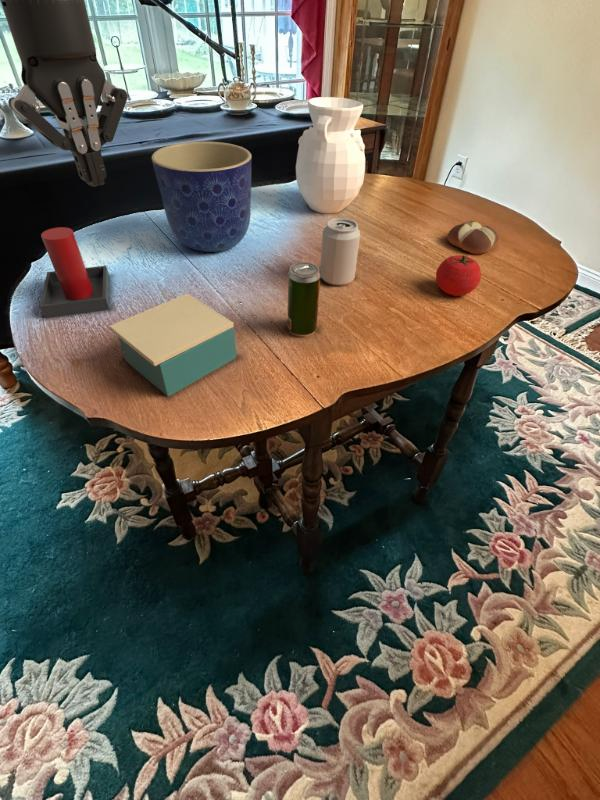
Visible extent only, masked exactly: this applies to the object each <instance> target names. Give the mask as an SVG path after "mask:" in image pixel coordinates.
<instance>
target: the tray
mask: <svg viewBox="0 0 600 800" xmlns="http://www.w3.org/2000/svg"><path fill="white" fill-rule="evenodd" d="M85 268H86V271H87V274H88V277H89V279H90V282H91V285H92V288H93V294H92V295H91V296H90V297H88V298H86V299H83V300H69V299H67V298H66V297H65V295H64V292H63V290H62V287H61V285H60V282H59V280H58V277H57V275H56V272H55V270H53V271H47V272H46V276H45V280H44V285H43V290H42V294H41V299H40V304H39V309H40V310H41V312H42V314H43V317H44V319H51V318H59V317H66V316H74V315H75V316H76V315H81V314H90V313H96V312H97V313H98V312H104V311H105V312H106V311H110V310H111V309H110V308H111V307H110V304H111V303H110V302H111V301H110V300H111V299H110V297H111V296H110V293H111V291H110V289H111V288H110V287H111V286H110V285H111V282H110V281H111V280H110V278H111V276H110V274H109V273H110V272H109V270H108V267H107V265H100V266H99V265H98V266H90V267H85Z"/></svg>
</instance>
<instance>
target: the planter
mask: <svg viewBox="0 0 600 800" xmlns="http://www.w3.org/2000/svg"><path fill="white" fill-rule="evenodd" d="M252 159H253V157H252V153H251V152H250V151H249V150H248V149H246V148H244V147H243V146H239V145H236V144H232V143H228V142H227V143H226V142H221V141H220V142H219V141H189V142H180V143H174V144H170V145H167V146H164V147H160V148H159V149H157V150H155V151H154V153H152V154H151V162H152V166H153V170H154V174H155V178H156V182H157V185H158V190H159V194H160V197H161V202H162V205H163V208H164V212H165V216H166V220H167V222H168V225H169V228H170V230H171V232H172V233H173V235H174V236H175V237H176V239H177V240H178V241H179V242H180V243H181V244H182V245H184V246H185V247H187V248H189V249H192V250H194V251H198V252H203V253H216V252H217V253H218V252H223V251H226V250H229V249H231V248H233V247H235V246H237V245H238V244H239V243H240V242H241V241H242V240H243V239H244V238H245V236H247V235H246V234H247V232H248V230H249V226H250V222H251V215H252V214H251V213H252V207H251V206H252V161H253V160H252Z"/></svg>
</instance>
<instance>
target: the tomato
mask: <svg viewBox="0 0 600 800" xmlns="http://www.w3.org/2000/svg"><path fill="white" fill-rule="evenodd" d="M481 278H482V270H481V266H480V265H479V263H478V261H477V260H475V259H474V258H472V257H469V256H468V255H467V254H466V255H463V254H461V255H460V254H459V255H458V254H457V255H450V256H448V257H447V258H445V259H443V261H441V263H440V264H439V266H438V267H437V269H436V272H435V281H436V284H437V286H438V288H439V289H440V290H441V291H442V292H443V293H445V294H447V295H449V296H454V297H458V296H460V297H461V296H465V295H468V294H471V293H472V292H473V291H474V290H476V289H477V287H478V286H479V284H480V283H481Z"/></svg>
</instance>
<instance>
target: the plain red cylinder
mask: <svg viewBox="0 0 600 800" xmlns="http://www.w3.org/2000/svg"><path fill="white" fill-rule="evenodd" d="M40 237H41V239H42V242H43V244H44V247H45V250H46V252H47V254H48V258H49V259H50V262H51V265H52V267H53V271H55V272H56V275H57V277H58V280H59V282H60V285H61V287H62V290H63V292H64V295H65V297H66V298H67V299H69V300H83V299H86V298H88V297H90V296H91V295H92V294H93V288H92V285H91V282H90V279H89V277H88V274H87V271H86V268H87V267H86V264H85V262H84V260H83V256H82V253H81V250H80V248H79V244H78V242H77V239H76V235H75V233H74V230H73V229H72V228H70V227H66V226H65V227H60V226H59V227H53V228H49V229H47V230H44V231H43V232H42V233H41V234H40Z"/></svg>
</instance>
